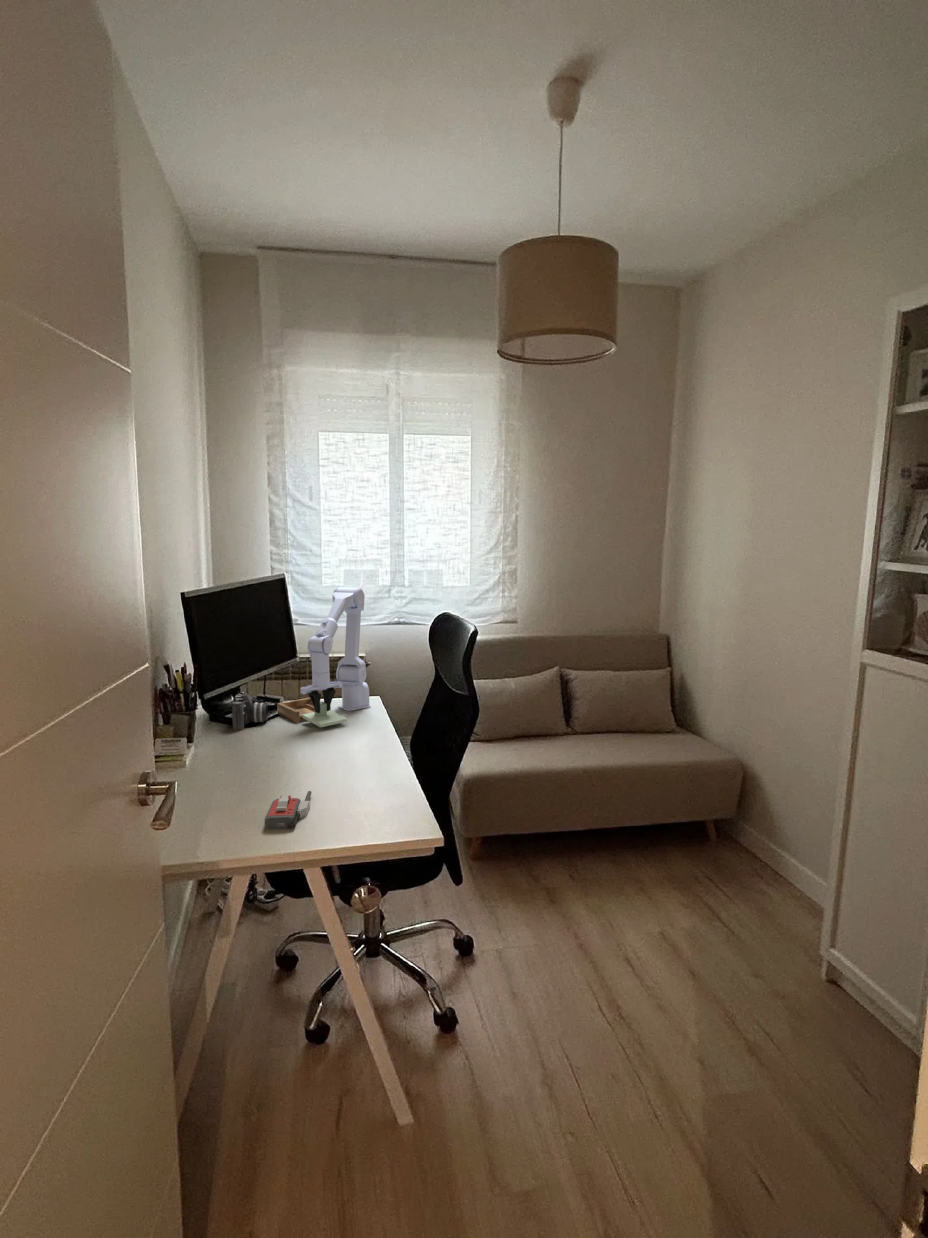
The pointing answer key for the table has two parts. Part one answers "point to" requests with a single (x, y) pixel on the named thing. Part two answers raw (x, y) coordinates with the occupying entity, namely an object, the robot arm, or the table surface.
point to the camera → (247, 711)
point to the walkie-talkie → (286, 812)
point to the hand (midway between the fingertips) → (322, 711)
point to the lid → (324, 717)
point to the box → (296, 709)
